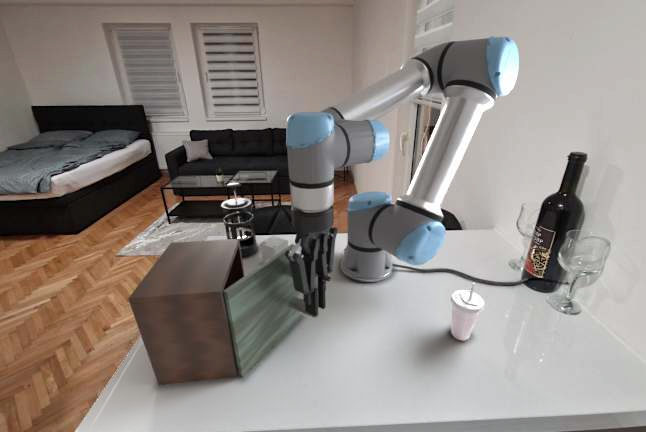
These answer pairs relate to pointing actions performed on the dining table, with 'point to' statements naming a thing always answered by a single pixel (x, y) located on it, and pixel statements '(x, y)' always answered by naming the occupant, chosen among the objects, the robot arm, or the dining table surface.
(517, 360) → the dining table surface
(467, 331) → the smoothie
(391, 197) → the robot arm
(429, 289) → the dining table surface
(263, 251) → the product carton
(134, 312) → the cupboard
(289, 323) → the door
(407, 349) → the dining table surface
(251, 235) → the french press
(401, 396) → the dining table surface
